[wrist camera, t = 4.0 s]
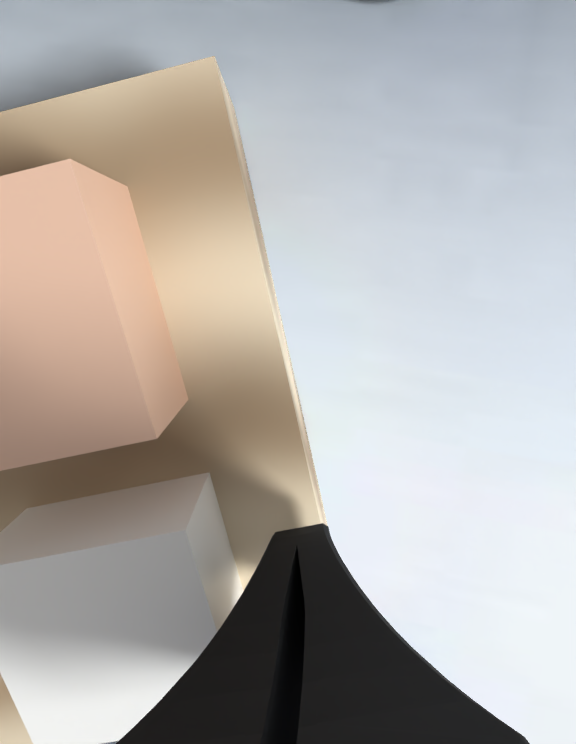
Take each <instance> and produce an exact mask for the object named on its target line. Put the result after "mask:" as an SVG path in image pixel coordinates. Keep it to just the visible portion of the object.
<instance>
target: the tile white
mask: <svg viewBox="0 0 576 744" xmlns="http://www.w3.org/2000/svg"><path fill="white" fill-rule="evenodd" d="M242 593H243V588H242V584H241V581H240V577H239V574H238V570H237V567H236V563H235V560H234V556H233V553H232V549H231V546H230V542H229V539H228V536H227V532H226V529H225V525H224V522H223V518H222V515H221V511H220V508H219V504H218V501H217V497H216V494H215V490H214V487H213V483H212V480H211V476H210V473H209V472H208V473H203V474H198V475H193V476H188V477H183V478H178V479H173V480H168V481H163V482H158V483H153V484H148V485H142V486H137V487H132V488H127V489H122V490H117V491H112V492H107V493H102V494H97V495H92V496H87V497H82V498H77V499H72V500H67V501H62V502H56V503H51V504H46V505H41V506H36V507H31V508H27V509H26V510H24V511H23V512H22V513H21V514H20V515H19V516H18V517H17V518H16V519H14V520H13V521H12V522H11V523H10V524H9V525H8V526H7V527H6V528H4V529H3V530H2V531H1V532H0V673H1V676H2V678H3V680H4V682H5V684H6V686H7V688H8V691H9V693H10V695H11V697H12V699H13V701H14V703H15V706H16V708H17V710H18V712H19V714H20V716H21V719H22V721H23V723H24V725H25V727H26V729H27V731H28V734H29V736H30V738H31V740H32V742H33V744H102V743H108V742H115V741H119V740H120V739H121V738H122V737H123V736H125V735H126V734H127V733H128V732H129V731H130V730H131V729H132V728H133V727H134V726H135V725H136V724H137V723H138V722H139V721H140V720H141V719H142V718H143V717H144V716H145V715H146V714H147V713H148V712H149V711H150V710H151V709H152V708H153V707H154V706H155V705H156V704H157V703H158V702H159V701H160V700H161V699H162V698H163V697H164V696H165V695H166V693H167V692H168V691H169V690H170V689H171V688H172V687H173V686H174V685H175V683H176V682H177V681H178V680H179V679H180V678H181V677H182V676H183V674H184V673H185V672H186V671H187V670H188V669H189V668H190V667H191V666H192V664H193V663H194V662H195V661H196V659H197V658H198V657H199V656H200V654H201V653H202V652H203V650H204V649H205V648H206V647H207V645H208V644H209V643H210V641H211V640H212V638H213V637H214V636H215V634H216V633H217V631H218V630H219V629H220V627H221V626H222V624H223V623H224V621H225V620H226V618H227V617H228V615H229V614H230V612H231V610H232V609H233V607H234V606H235V604H236V603H237V601H238V599H239V598H240V596H241V595H242Z"/></svg>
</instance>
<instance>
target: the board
mask: <svg viewBox="0 0 576 744" xmlns="http://www.w3.org/2000/svg"><path fill="white" fill-rule="evenodd" d="M67 159H72V160H74V161H76V162H78V163H80V164H82V165H84V166H86V167H88V168H90V169H92V170H94V171H96V172H99V173H101V174H103V175H105V176H107V177H109V178H111V179H113V180H115V181H117V182H119V183H121V184H123V185H125V186H128V190H129V193H130V197H131V200H132V204H133V207H134V211H135V214H136V218H137V221H138V225H139V228H140V232H141V235H142V239H143V242H144V246H145V249H146V253H147V256H148V260H149V263H150V267H151V270H152V274H153V277H154V281H155V284H156V288H157V291H158V295H159V298H160V302H161V305H162V309H163V312H164V316H165V319H166V323H167V326H168V330H169V333H170V336H171V340H172V343H173V347H174V350H175V354H176V357H177V361H178V364H179V368H180V371H181V375H182V378H183V382H184V385H185V389H186V392H187V396H188V401H187V402H186V403H185V404H184V406H183V407H182V408H181V409H180V411H179V412H178V413H177V415H176V416H175V417H174V418H173V420H172V421H171V422H170V423H169V425H168V426H167V427H166V428H165V430H164V431H163V432H162V433H161V435H160V436H159V437H158V438H157V439H154V440H149V441H144V442H139V443H134V444H129V445H124V446H119V447H115V448H110V449H105V450H100V451H95V452H90V453H85V454H80V455H75V456H71V457H66V458H61V459H56V460H51V461H46V462H41V463H36V464H31V465H27V466H22V467H17V468H12V469H7V470H2V471H0V532H1V531H2V530H3V529H4V528H6V527H7V526H8V525H9V524H10V523H11V522H12V521H13V520H14V519H16V518H17V517H18V516H19V515H20V514H21V513H22V512H23V511H24V510H26V509H27V508H31V507H36V506H41V505H46V504H51V503H56V502H62V501H67V500H72V499H77V498H82V497H87V496H92V495H97V494H102V493H107V492H112V491H117V490H122V489H127V488H132V487H137V486H142V485H148V484H153V483H158V482H163V481H168V480H173V479H178V478H183V477H188V476H193V475H198V474H203V473H208V472H209V473H210V476H211V480H212V483H213V487H214V490H215V494H216V497H217V501H218V504H219V508H220V511H221V515H222V518H223V522H224V525H225V529H226V532H227V536H228V539H229V542H230V546H231V549H232V553H233V556H234V560H235V563H236V567H237V570H238V574H239V577H240V581H241V584H242V588H243V591H244V589H245V588H246V586H247V584H248V582H249V581H250V579H251V577H252V575H253V573H254V572H255V570H256V568H257V566H258V564H259V562H260V560H261V558H262V556H263V554H264V552H265V550H266V548H267V546H268V544H269V542H270V540H271V538H272V536H273V535H274V533H275V532H278V531H283V530H289V529H294V528H300V527H305V526H311V525H316V524H322V523H323V524H325V525H326V526H327V521H326V517H325V513H324V508H323V504H322V499H321V495H320V490H319V486H318V481H317V477H316V472H315V468H314V463H313V459H312V454H311V450H310V445H309V441H308V436H307V432H306V428H305V423H304V419H303V414H302V410H301V405H300V401H299V396H298V392H297V387H296V383H295V378H294V374H293V369H292V365H291V360H290V356H289V352H288V347H287V343H286V338H285V334H284V329H283V325H282V320H281V316H280V311H279V307H278V302H277V298H276V293H275V289H274V284H273V280H272V275H271V271H270V267H269V262H268V258H267V253H266V249H265V244H264V240H263V235H262V231H261V226H260V222H259V217H258V213H257V208H256V204H255V199H254V195H253V190H252V186H251V182H250V177H249V173H248V168H247V164H246V159H245V155H244V150H243V146H242V141H241V137H240V132H239V128H238V123H237V119H236V114H235V110H234V107H233V104H232V101H231V99H230V96H229V93H228V91H227V88H226V85H225V83H224V80H223V78H222V75H221V72H220V70H219V67H218V64H217V62H216V59H215V56H212V57H209V58H205V59H201V60H197V61H193V62H189V63H186V64H182V65H178V66H174V67H170V68H167V69H163V70H159V71H155V72H151V73H147V74H144V75H140V76H136V77H132V78H128V79H124V80H121V81H117V82H113V83H109V84H105V85H102V86H98V87H94V88H90V89H86V90H82V91H79V92H75V93H71V94H67V95H63V96H60V97H56V98H52V99H48V100H44V101H40V102H37V103H33V104H29V105H25V106H21V107H17V108H14V109H10V110H6V111H2V112H0V176H3V175H7V174H11V173H15V172H19V171H23V170H27V169H31V168H35V167H39V166H43V165H47V164H51V163H55V162H59V161H63V160H67ZM0 744H33V742H32V740H31V738H30V736H29V734H28V731H27V729H26V727H25V725H24V723H23V721H22V719H21V716H20V714H19V712H18V710H17V708H16V706H15V703H14V701H13V699H12V697H11V695H10V693H9V691H8V688H7V686H6V684H5V682H4V680H3V678H2V676H1V673H0Z"/></svg>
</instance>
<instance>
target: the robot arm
mask: <svg viewBox="0 0 576 744" xmlns="http://www.w3.org/2000/svg"><path fill="white" fill-rule="evenodd" d="M116 744H529V742H528V741H527V740H526V738H525V737H524V736H522V735H521V734H519V733H518V732H517V731H515V730H514V729H512V728H511V727H509V726H508V725H507V724H505V723H504V722H502V721H501V720H499V719H498V718H496V717H495V716H494V715H492V714H491V713H490V712H488V711H487V710H486V709H484V708H483V707H482V706H480V705H479V704H478V703H476V702H475V701H474V700H472V699H471V698H470V697H469V696H467V695H466V694H465V693H464V692H462V691H461V690H460V689H459V688H457V687H456V686H455V685H454V684H452V683H451V682H450V681H449V680H447V679H446V678H445V677H444V676H443V675H442V674H441V673H440V672H439V671H437V670H436V669H435V668H434V667H433V666H432V665H431V664H430V663H429V662H427V661H426V660H425V659H424V658H423V657H422V656H421V655H420V654H419V653H418V652H416V651H415V650H414V649H413V648H412V647H411V646H410V645H409V644H408V643H407V642H406V641H405V640H404V639H403V638H402V637H401V636H400V635H399V634H398V633H397V632H396V631H395V629H394V628H393V627H392V626H391V625H390V624H389V623H388V622H387V621H386V619H385V618H384V617H383V616H382V615H381V614H380V612H379V611H378V610H377V609H376V608H375V606H374V605H373V604H372V603H371V601H370V600H369V599H368V598H367V596H366V595H365V594H364V592H363V591H362V590H361V588H360V587H359V585H358V584H357V583H356V581H355V580H354V578H353V577H352V575H351V574H350V572H349V570H348V569H347V567H346V566H345V564H344V563H343V561H342V559H341V557H340V556H339V554H338V552H337V550H336V548H335V546H334V544H333V541H332V539H331V536H330V533H329V528H328V526H326V525H325V524H323V523H322V524H316V525H311V526H305V527H300V528H294V529H289V530H283V531H278V532H275V533H274V535H273V536H272V538H271V540H270V542H269V544H268V546H267V548H266V550H265V552H264V554H263V556H262V558H261V560H260V562H259V564H258V566H257V568H256V570H255V572H254V573H253V575H252V577H251V579H250V581H249V582H248V584H247V586H246V588H245V589H244V591H243V593H242V595H241V596H240V598H239V599H238V601H237V603H236V604H235V606H234V607H233V609H232V610H231V612H230V614H229V615H228V617H227V618H226V620H225V621H224V623H223V624H222V626H221V627H220V629H219V630H218V631H217V633H216V634H215V636H214V637H213V638H212V640H211V641H210V643H209V644H208V645H207V647H206V648H205V649H204V650H203V652H202V653H201V654H200V656H199V657H198V658H197V659H196V661H195V662H194V663H193V664H192V666H191V667H190V668H189V669H188V670H187V671H186V672H185V673H184V674H183V676H182V677H181V678H180V679H179V680H178V681H177V682H176V683H175V685H174V686H173V687H172V688H171V689H170V690H169V691H168V692H167V693H166V695H165V696H164V697H163V698H162V699H161V700H160V701H159V702H158V703H157V704H156V705H155V706H154V707H153V708H152V709H151V710H150V711H149V712H148V713H147V714H146V715H145V716H144V717H143V718H142V719H141V720H140V721H139V722H138V723H137V724H136V725H135V726H134V727H133V728H132V729H131V730H130V731H129V732H128V733H127V734H126V735H125V736H123V737H122V738H121V739H120V740H119V741H118V742H117V743H116Z"/></svg>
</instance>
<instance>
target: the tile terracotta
mask: <svg viewBox="0 0 576 744" xmlns="http://www.w3.org/2000/svg"><path fill="white" fill-rule="evenodd" d="M187 401H188V396H187V392H186V389H185V385H184V382H183V378H182V375H181V371H180V368H179V364H178V361H177V357H176V354H175V350H174V347H173V343H172V340H171V336H170V333H169V330H168V326H167V323H166V319H165V316H164V312H163V309H162V305H161V302H160V298H159V295H158V291H157V288H156V284H155V281H154V277H153V274H152V270H151V267H150V263H149V260H148V256H147V253H146V249H145V246H144V242H143V239H142V235H141V232H140V228H139V225H138V221H137V218H136V214H135V211H134V207H133V204H132V200H131V197H130V193H129V190H128V186H125V185H123V184H121V183H119V182H117V181H115V180H113V179H111V178H109V177H107V176H105V175H103V174H101V173H99V172H96V171H94V170H92V169H90V168H88V167H86V166H84V165H82V164H80V163H78V162H76V161H74V160H72V159H67V160H63V161H59V162H55V163H51V164H47V165H43V166H39V167H35V168H31V169H27V170H23V171H19V172H15V173H11V174H7V175H3V176H0V471H2V470H7V469H12V468H17V467H22V466H27V465H31V464H36V463H41V462H46V461H51V460H56V459H61V458H66V457H71V456H75V455H80V454H85V453H90V452H95V451H100V450H105V449H110V448H115V447H119V446H124V445H129V444H134V443H139V442H144V441H149V440H154V439H157V438H158V437H159V436H160V435H161V433H162V432H163V431H164V430H165V428H166V427H167V426H168V425H169V423H170V422H171V421H172V420H173V418H174V417H175V416H176V415H177V413H178V412H179V411H180V409H181V408H182V407H183V406H184V404H185V403H186V402H187Z"/></svg>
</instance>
